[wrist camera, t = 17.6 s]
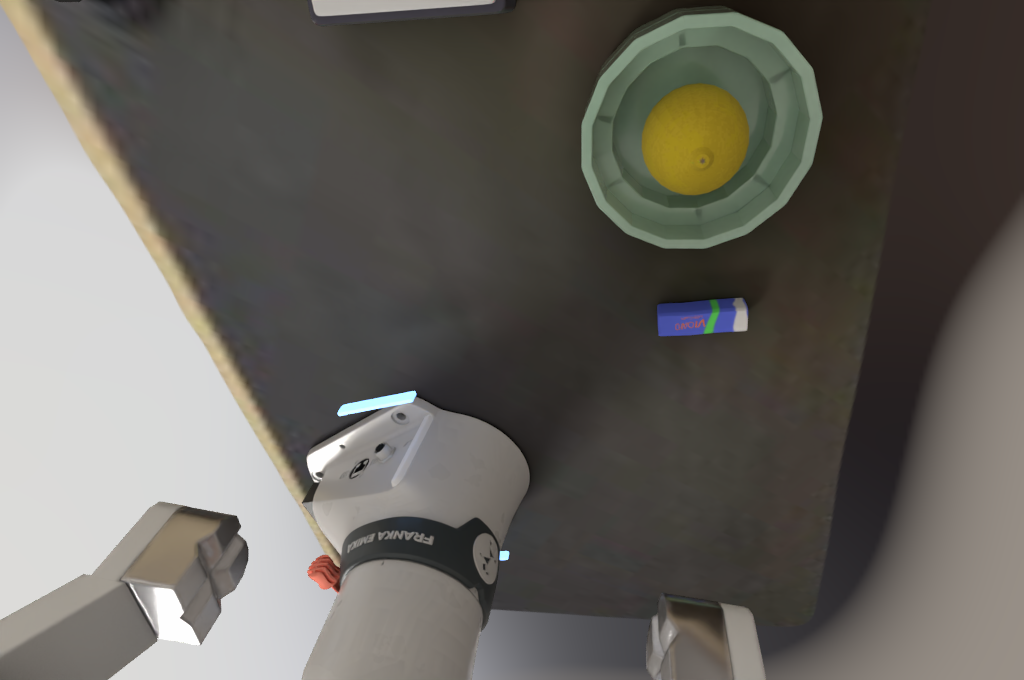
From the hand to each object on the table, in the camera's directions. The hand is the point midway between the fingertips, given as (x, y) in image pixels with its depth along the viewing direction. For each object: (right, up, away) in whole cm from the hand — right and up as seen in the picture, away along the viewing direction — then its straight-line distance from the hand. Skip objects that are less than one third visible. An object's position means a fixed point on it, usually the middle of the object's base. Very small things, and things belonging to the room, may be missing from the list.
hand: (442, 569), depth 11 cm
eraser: (+15, +7, +31) cm, 35 cm away
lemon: (+12, +18, +23) cm, 32 cm away
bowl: (+12, +18, +24) cm, 32 cm away
